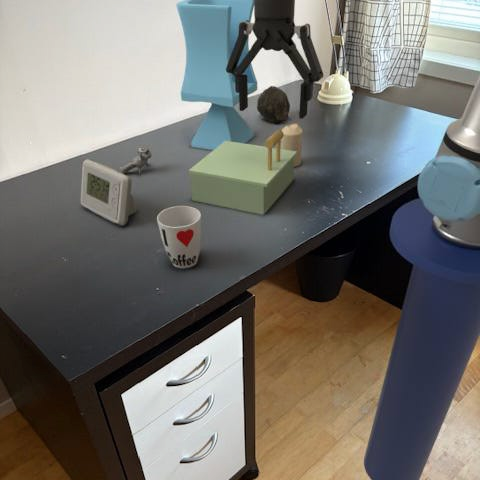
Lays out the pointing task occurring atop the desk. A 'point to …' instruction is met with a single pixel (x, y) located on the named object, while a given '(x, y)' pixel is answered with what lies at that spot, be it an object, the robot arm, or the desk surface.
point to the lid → (246, 161)
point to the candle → (292, 141)
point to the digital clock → (106, 192)
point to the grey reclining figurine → (138, 161)
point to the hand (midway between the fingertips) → (272, 112)
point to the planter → (215, 67)
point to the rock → (273, 104)
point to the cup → (181, 234)
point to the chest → (240, 191)
